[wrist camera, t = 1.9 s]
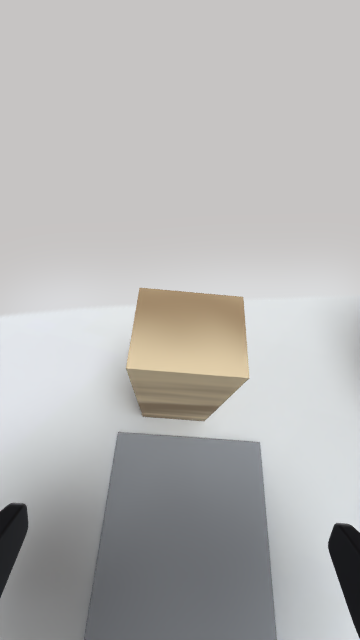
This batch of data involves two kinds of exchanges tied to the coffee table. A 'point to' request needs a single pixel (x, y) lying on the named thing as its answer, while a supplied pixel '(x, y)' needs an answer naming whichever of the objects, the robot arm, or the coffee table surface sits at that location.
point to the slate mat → (183, 543)
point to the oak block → (186, 352)
